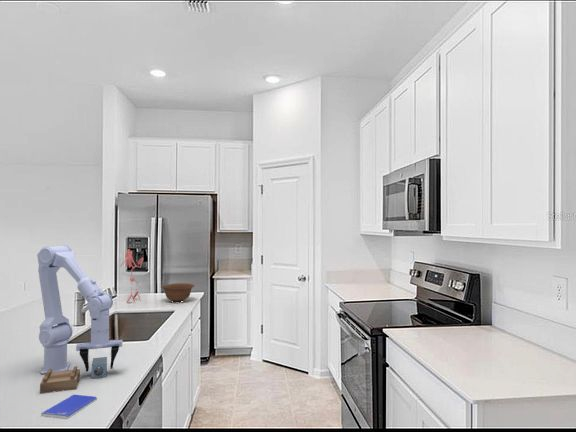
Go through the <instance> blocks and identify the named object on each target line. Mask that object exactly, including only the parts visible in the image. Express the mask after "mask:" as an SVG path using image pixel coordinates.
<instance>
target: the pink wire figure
mask: <svg viewBox="0 0 576 432" xmlns="http://www.w3.org/2000/svg"><path fill="white" fill-rule="evenodd" d="M126 252H127V253H125V254H124V256H125V259H124V261H123V262H122V263H121V264H120V266H122V265H124V264H125V266H128V268H129V269H130V268H131V267H132V268H131V270H130V271H131V273H130V279H129V280H130V283H131V284H133V282H136V285H138V284H139V282H138V281H137V280H135V278H134V277H133V270H134V269H136V268H142V264H143V262H144V259H145V258H144V257H141V258H140V259H138V261H137V264H136V263H135V261H134V258H133V250H131V249H130V248H128V249H127V251H126ZM132 263H133V264H132ZM133 265H134V266H133ZM130 289H131V290H130V291H131V292H130V295H129V298H128V299H127V301H126V303H128V302H130V300H131V298H132V300H133V302H134V303H135V302H136V300H135V298H137V296H138V299H139V300H140V299H141V297H140V294H139V291H138V290H136V291H135V294H134V295H133V293H132V291H133V288H130Z"/></svg>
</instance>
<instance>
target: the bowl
mask: <svg viewBox="0 0 576 432" xmlns="http://www.w3.org/2000/svg"><path fill="white" fill-rule="evenodd" d="M160 288H162V289H163V290H164V294H165V297H166V298H167V299H168V300H170V301H173V302H181V301H184V302H185V300H186V299H188V298H189V297H190V295H191V291H192V289H193V288H195V284H193V283H182V282H181V283H180V282H179V283H177V282H176V283H169V284H165V285H161V286H160Z"/></svg>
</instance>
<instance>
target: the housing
mask: <svg viewBox="0 0 576 432" xmlns="http://www.w3.org/2000/svg"><path fill="white" fill-rule="evenodd" d="M90 370H91V371H90V373H91V375H90V376H91V380H94V379H95V380H97V379H103V378H107V373H108V372H107V371H108V356H102V357H93V358H92V361H91V369H90Z"/></svg>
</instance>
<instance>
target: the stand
mask: <svg viewBox="0 0 576 432" xmlns="http://www.w3.org/2000/svg"><path fill="white" fill-rule="evenodd" d="M80 377H81V368H78V366H77V365H76V366H73V367H72V369H69V370H68V369H67V370H66V371H57V372H52V369H48V371H47V373H45V374H44V376H43V378H42V379H41V381H40V383H39V394H46V393H45V392H48V393H54V392H53V391H56V392H63V391H62V390H64V391H72V390H77V387H78V384H79V382H80V379H81V378H80Z"/></svg>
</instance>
